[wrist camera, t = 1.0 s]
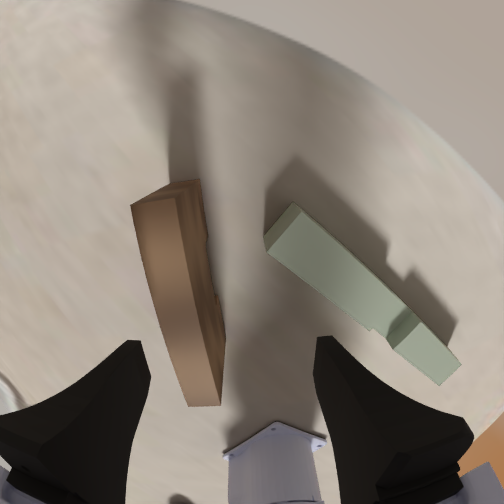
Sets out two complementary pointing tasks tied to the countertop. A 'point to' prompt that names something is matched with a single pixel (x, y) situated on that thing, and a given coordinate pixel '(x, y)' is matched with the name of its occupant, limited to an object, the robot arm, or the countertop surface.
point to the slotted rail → (356, 291)
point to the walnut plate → (183, 287)
